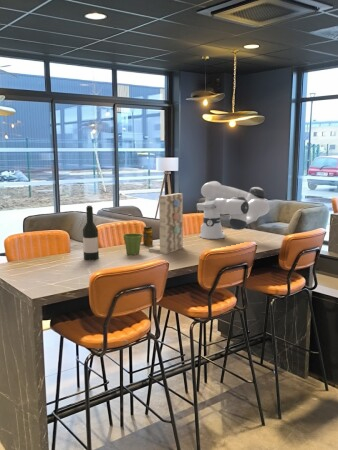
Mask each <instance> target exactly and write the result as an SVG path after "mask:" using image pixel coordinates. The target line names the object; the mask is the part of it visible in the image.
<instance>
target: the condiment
mask: <svg viewBox="0 0 338 450" xmlns="http://www.w3.org/2000/svg"><path fill="white" fill-rule="evenodd" d="M153 233H154V232H153V227H152V226H149V225H148V226H144V227H143V232H142V235H143V236H142V239H143V243H141V244H140V247H144V248H145V247H155V244H154V242H153V240H154V239H153V238H154V237H153V236H154V235H153Z"/></svg>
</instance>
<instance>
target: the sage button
mask: <svg viewBox="0 0 338 450" xmlns="http://www.w3.org/2000/svg"><path fill="white" fill-rule="evenodd" d="M173 232H174V233H176V234H178V233H179V232H180V228H179V226H175V227H174V228H173Z"/></svg>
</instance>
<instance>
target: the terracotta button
mask: <svg viewBox="0 0 338 450" xmlns="http://www.w3.org/2000/svg"><path fill="white" fill-rule="evenodd" d="M173 219H174V220H179V219H180V214H179V213H174V215H173Z"/></svg>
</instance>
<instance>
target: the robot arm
mask: <svg viewBox="0 0 338 450" xmlns="http://www.w3.org/2000/svg"><path fill="white" fill-rule="evenodd" d="M200 194H201V195H202V196H203V197H204V198H205V201H204V202H199V203H196V210H197V211H203V217H202V222H203V223H202V224H201V225H200V234H198V237H199V238H202V239H207V240H208V239H209V240H217V239H225V238H226V233H225V232H224V230H223V226H222V224H221V215H229V219H228V225H229V227H230V229H232V230H235V231H241V230H244V229H246V228H247V227H249V226H251V225H252V224H255V223H256V221H257V220H258V219H259V217H262V216H265V215H266V214H268V213H269V211H270V210H271V209H270V204H269V202H268V201H266V200H265V198H266V192H265V190H264V189H263V188H261V187H259V186H253V187H250V189H249V191H246V190H243V189H239V188H237V187H233V186H229V185H228V186H227V185H223V184H222V183H220V182H219V181H216V180H212V181H208V182H206V183H204V184H203V185H202V186H201V189H200Z"/></svg>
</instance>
